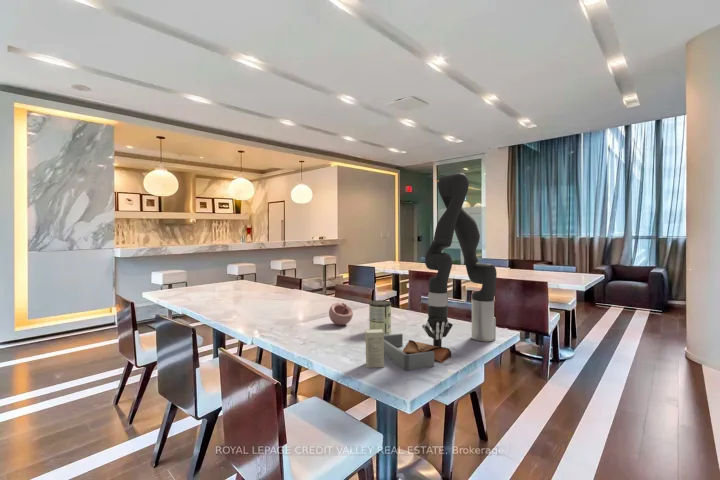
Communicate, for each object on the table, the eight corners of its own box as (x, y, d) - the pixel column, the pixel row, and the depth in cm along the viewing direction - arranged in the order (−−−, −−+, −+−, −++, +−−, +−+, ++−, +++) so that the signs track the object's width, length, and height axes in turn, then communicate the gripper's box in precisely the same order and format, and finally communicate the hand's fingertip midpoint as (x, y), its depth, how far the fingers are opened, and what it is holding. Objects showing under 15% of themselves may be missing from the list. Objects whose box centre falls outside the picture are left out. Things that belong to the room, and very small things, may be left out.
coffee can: (369, 329, 170) (370, 299, 170) (391, 329, 169) (391, 300, 169) (368, 335, 160) (368, 304, 160) (391, 335, 159) (391, 304, 159)
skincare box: (383, 363, 125) (383, 328, 125) (384, 367, 121) (384, 332, 121) (365, 363, 125) (365, 328, 125) (365, 367, 121) (365, 332, 121)
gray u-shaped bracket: (401, 345, 145) (401, 333, 145) (434, 366, 122) (434, 352, 122) (376, 348, 141) (376, 336, 141) (405, 370, 118) (405, 356, 118)
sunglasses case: (398, 353, 136) (402, 336, 138) (405, 357, 141) (409, 341, 143) (443, 363, 125) (446, 344, 128) (449, 368, 130) (452, 350, 133)
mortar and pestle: (339, 329, 169) (339, 305, 169) (324, 324, 178) (324, 302, 178) (357, 325, 177) (357, 302, 177) (342, 320, 186) (342, 299, 186)
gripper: (446, 301, 143) (445, 343, 143) (417, 303, 138) (417, 347, 138) (458, 304, 136) (457, 349, 136) (428, 306, 131) (427, 353, 131)
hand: (437, 348), depth 137 cm, fingers closed
